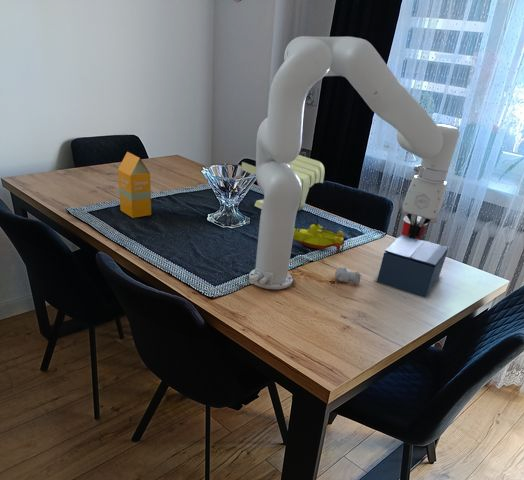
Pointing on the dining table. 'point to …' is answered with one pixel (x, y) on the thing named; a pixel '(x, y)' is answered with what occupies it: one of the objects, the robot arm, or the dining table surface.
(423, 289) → the carton
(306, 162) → the slatted curved stool
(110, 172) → the dining table surface
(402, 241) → the flap
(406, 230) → the paper cup
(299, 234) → the toy boat
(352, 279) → the pale two-lobed sculpture
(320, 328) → the dining table surface
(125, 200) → the orange juice
